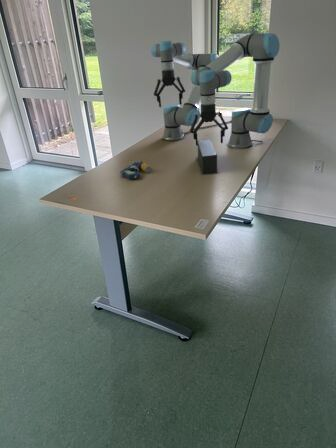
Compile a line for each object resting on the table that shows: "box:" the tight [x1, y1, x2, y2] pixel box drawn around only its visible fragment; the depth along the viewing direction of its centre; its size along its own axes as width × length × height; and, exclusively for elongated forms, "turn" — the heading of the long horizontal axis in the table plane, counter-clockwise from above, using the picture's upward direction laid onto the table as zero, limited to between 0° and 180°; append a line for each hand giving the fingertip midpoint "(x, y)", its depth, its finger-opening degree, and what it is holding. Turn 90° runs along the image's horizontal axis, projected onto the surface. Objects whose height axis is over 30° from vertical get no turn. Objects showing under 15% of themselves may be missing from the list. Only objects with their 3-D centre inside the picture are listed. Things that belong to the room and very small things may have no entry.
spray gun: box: [119, 160, 152, 180], centre depth 195 cm, size 21×4×15 cm
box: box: [197, 139, 218, 175], centre depth 196 cm, size 28×8×10 cm, turn 1°
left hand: (170, 105), depth 215 cm, fingers open, 13 cm apart
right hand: (209, 143), depth 182 cm, fingers open, 13 cm apart
